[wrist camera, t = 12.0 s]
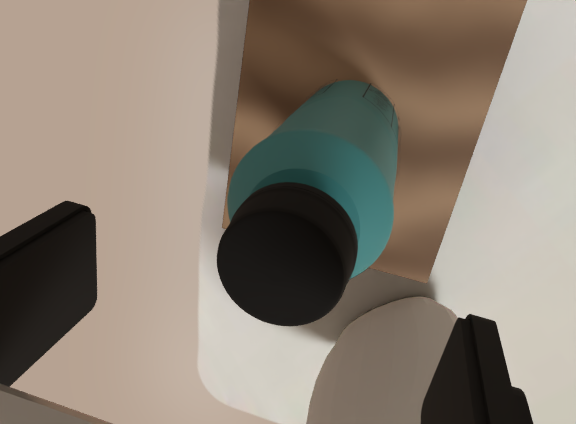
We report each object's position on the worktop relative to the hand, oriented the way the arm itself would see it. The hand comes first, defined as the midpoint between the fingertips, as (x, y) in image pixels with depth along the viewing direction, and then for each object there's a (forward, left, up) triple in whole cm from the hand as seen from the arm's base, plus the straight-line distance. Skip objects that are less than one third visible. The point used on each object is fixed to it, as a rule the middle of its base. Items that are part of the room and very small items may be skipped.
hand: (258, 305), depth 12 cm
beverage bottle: (0, 0, -22) cm, 22 cm away
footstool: (0, 0, -29) cm, 29 cm away
